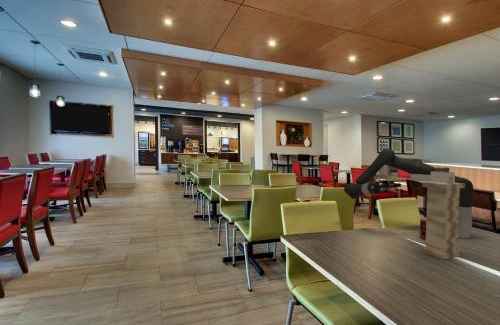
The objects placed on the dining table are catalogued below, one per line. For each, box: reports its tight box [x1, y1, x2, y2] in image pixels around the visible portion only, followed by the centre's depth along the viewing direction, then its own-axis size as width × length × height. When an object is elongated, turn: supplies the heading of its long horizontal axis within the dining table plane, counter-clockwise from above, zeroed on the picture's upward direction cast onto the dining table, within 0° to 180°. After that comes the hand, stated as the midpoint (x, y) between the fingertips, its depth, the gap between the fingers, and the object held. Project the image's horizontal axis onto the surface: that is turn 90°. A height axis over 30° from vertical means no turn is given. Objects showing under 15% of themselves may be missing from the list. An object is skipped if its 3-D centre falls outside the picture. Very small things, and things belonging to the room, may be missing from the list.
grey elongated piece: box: [410, 166, 456, 184], centre depth 130 cm, size 6×18×7 cm, turn 22°
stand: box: [419, 181, 465, 261], centre depth 125 cm, size 14×10×33 cm
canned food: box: [419, 216, 427, 241], centre depth 148 cm, size 8×8×11 cm
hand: (395, 185), depth 148 cm, fingers open, 8 cm apart
